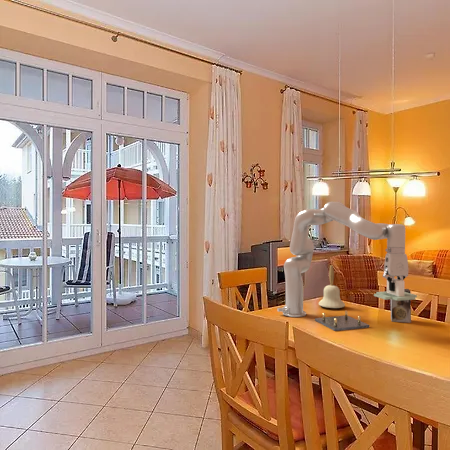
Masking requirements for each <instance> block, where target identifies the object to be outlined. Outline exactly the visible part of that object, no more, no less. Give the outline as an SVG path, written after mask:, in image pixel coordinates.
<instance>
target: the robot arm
mask: <svg viewBox="0 0 450 450" xmlns="http://www.w3.org/2000/svg"><path fill="white" fill-rule="evenodd" d="M333 221H335V222H337V223H339V224H341V225H343V226H346V227H348V228H349V229H350V230H352V231H353V232H355V233H357V234H358V235H361V236H363V237H365V238H366V239H367V238H368V239H369V240H374V241H376V240H384V239H387V240H386V248H385V252H386V253H385V257H384V264H383V274H382V278H384V279H386V281H387V280H388V282H389V290H390V291H395V283H394V278H395V277H396V279H399V280H403V281H405V279H406V278H407V277H409V261H408V256H407V255H408V254H406V226H405V225H404V224H400V223H391V224H390V223H389V224H388V223H383V222H382V223H380V222H379V223H375V222H373V221H370V220H368V219H365V218H363V217H362V216H361V215H360V214H359V212H358V211H357V210H355V209H351V208H349V207H347V206H346V205H345V204H344V203H343V202H340V201H328V202H326V203H325V204H324V206H323V207H322V208H317V209H316V208H315V209H314V208H309V209H307V208H306V209H304V210H302V211H300V212H298V213H297V214H296V216H295V217H294V222H293V229H292V232H291V233H292V234H291V238H290V243H289V251H290V253H291V254H292V255H293V256H292V257H288V258H287V259H286V260H285V261H284V263H283V271H284V278H285V279H284V280H285V305H284V306H283V307H277V309H276V310H277V312H278V313H279V312H280V313H282V314H283V316H286V317H291V318H301V317H305V316H306V315H307V312H306V311H305V310H304V281H303V276H302V274H303V273H306V272H308V271H309V269H310V268H311V264H312V259H313V255H314V250H315V249H314V248H315V246H314V242H313V241H312V239H311V238H310V237H308V236H309V231H310V230H309V226H321V225H324V224H327V223H330V222H333Z"/></svg>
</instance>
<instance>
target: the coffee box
mask: <svg viewBox="0 0 450 450" xmlns="http://www.w3.org/2000/svg"><path fill="white" fill-rule="evenodd" d="M404 292H407V293H411V294H412V292H411V289H410V288H404ZM411 303H412V300H400V301H396V300H393V299H390V320H391V322H392V323H393V322H394V323H396V322H397V323H410V324H411V323H412V315H411V314H412V304H411Z"/></svg>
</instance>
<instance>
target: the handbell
mask: <svg viewBox="0 0 450 450" xmlns="http://www.w3.org/2000/svg"><path fill="white" fill-rule="evenodd" d="M334 272H335V271H334V266H333V264H332V265H329V274H328V275H329V283H330V284H328V285H326V286H324V287H323V298H322V299H321V300H320V301H318V305H319V306H320V307H323V308H330V309H340V308H344V307H345V306H346V304H345V302H344V301H343V300H342V299H341V297H340V294H341V293H340V291H341V290H340V288H339V287H338V286H337V285H334V278H335V277H334V276H335V275H334V274H335V273H334Z"/></svg>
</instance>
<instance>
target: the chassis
mask: <svg viewBox="0 0 450 450" xmlns="http://www.w3.org/2000/svg"><path fill="white" fill-rule="evenodd" d="M314 321H315V322H317V323H319V324H320V325H323V326H325V327H326V328H328V329H330V330H332V331H333V332H339V331H341V332H342V331H349V330H359V329H369V327H370V324H369V323H366V322H363V321H362V320H361V315H357V318H355V317H351V316H349V314H348V310H345V311H344V315H335V316H326V313H325V312H322V317H315V318H314Z"/></svg>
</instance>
